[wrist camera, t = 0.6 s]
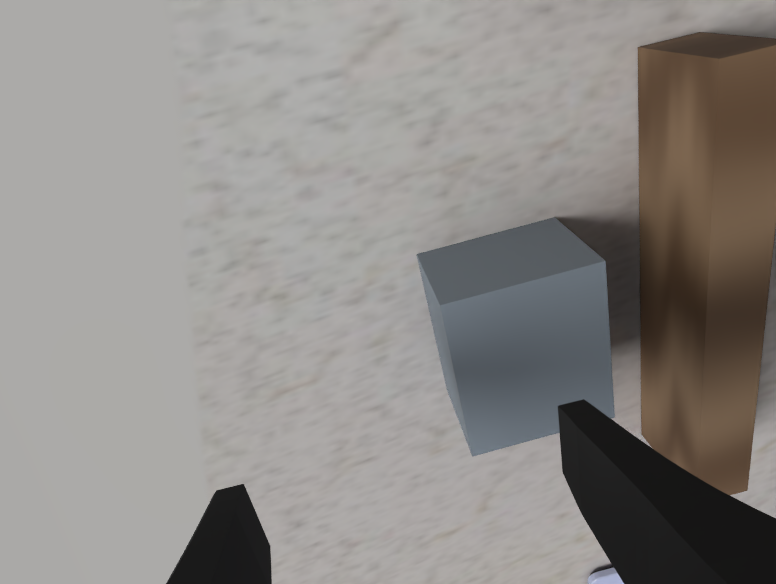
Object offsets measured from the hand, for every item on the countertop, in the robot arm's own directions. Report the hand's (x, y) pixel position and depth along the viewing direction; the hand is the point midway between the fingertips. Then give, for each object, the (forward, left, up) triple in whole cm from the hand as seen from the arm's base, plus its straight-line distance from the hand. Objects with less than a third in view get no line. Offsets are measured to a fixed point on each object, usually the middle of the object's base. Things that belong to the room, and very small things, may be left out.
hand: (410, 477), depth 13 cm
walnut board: (-2, -11, -9) cm, 14 cm away
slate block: (-2, -5, -9) cm, 10 cm away
